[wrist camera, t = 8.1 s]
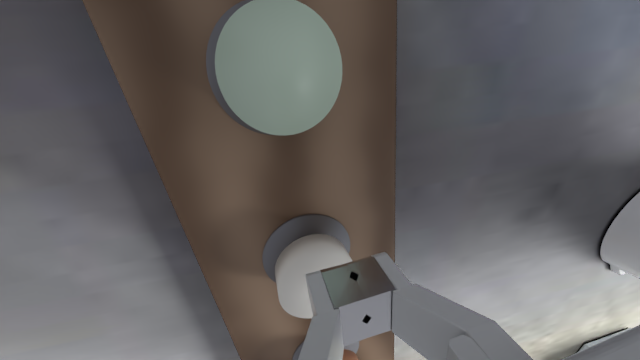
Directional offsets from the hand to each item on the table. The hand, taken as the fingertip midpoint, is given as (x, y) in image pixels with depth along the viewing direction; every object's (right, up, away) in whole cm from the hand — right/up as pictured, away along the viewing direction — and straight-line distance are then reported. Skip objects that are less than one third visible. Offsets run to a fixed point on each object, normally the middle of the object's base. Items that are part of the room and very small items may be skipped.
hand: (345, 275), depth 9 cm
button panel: (-3, -1, +12) cm, 12 cm away
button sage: (-3, +8, +3) cm, 9 cm away
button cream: (-1, -2, +8) cm, 8 cm away
